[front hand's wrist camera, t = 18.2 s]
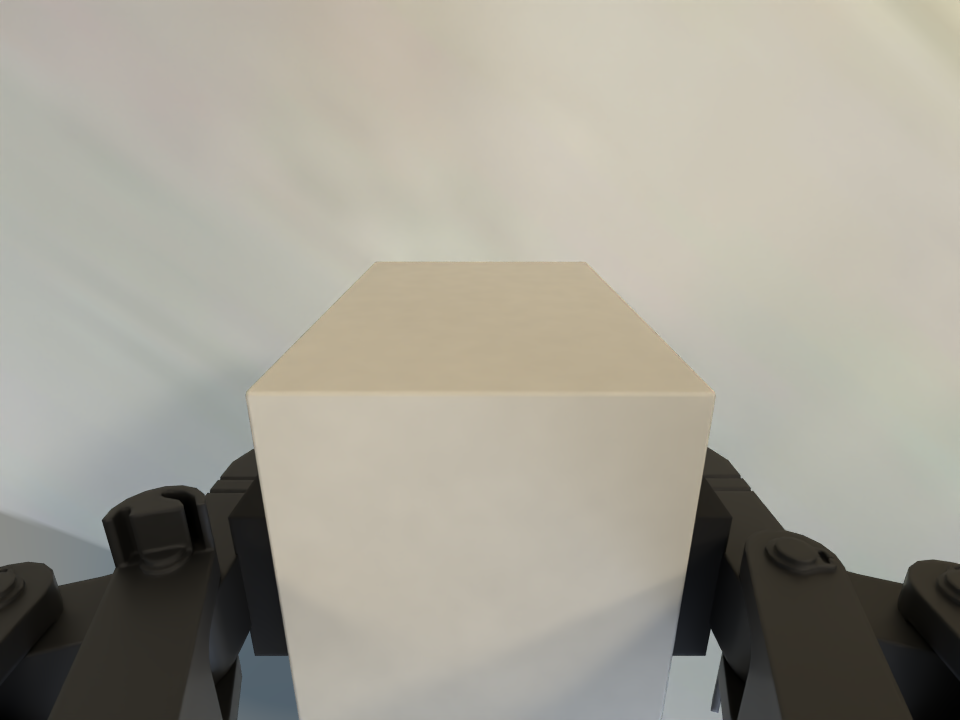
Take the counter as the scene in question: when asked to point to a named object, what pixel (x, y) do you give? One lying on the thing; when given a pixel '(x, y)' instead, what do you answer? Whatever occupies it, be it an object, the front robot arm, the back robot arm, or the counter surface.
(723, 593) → the front robot arm
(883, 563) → the counter surface
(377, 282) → the block
